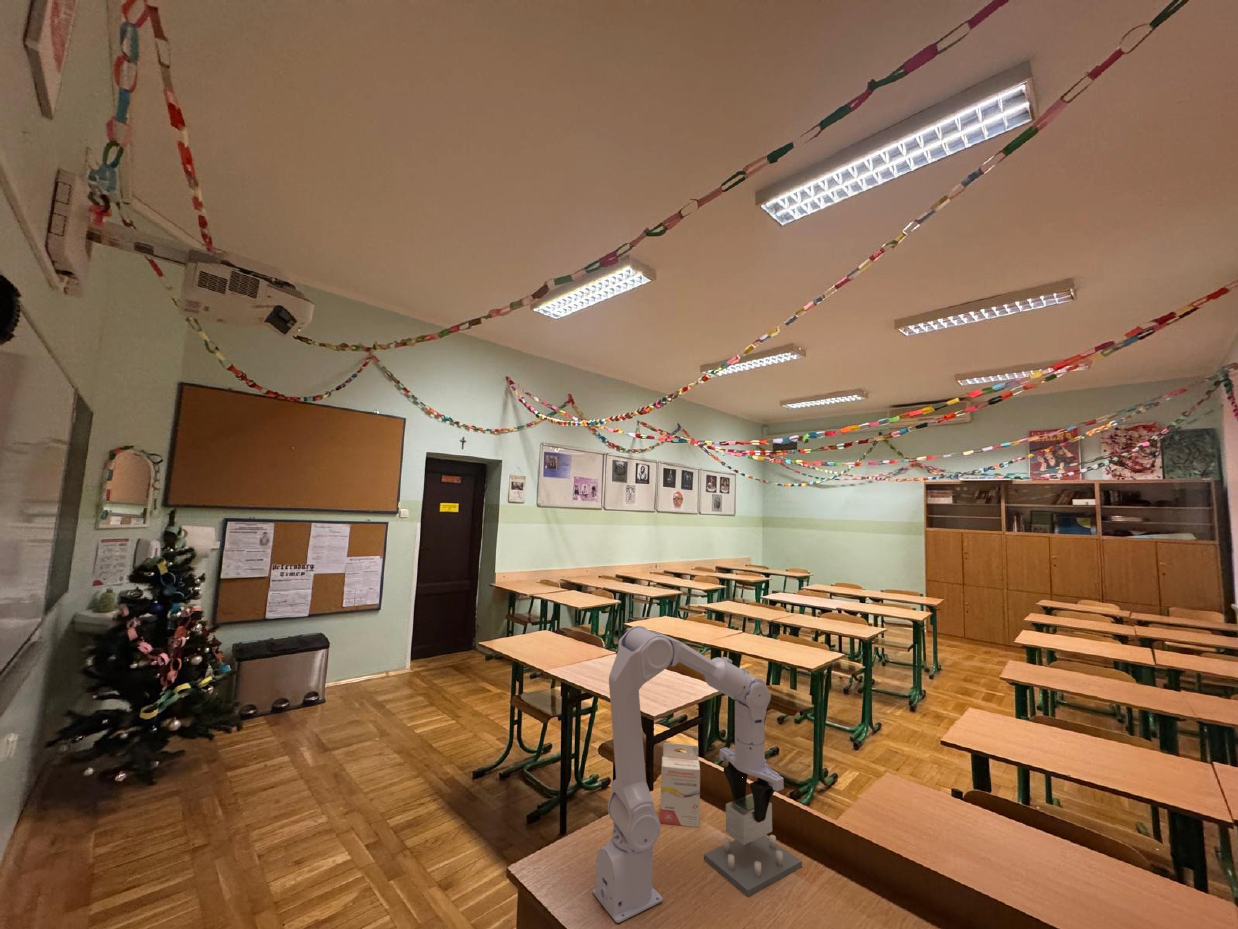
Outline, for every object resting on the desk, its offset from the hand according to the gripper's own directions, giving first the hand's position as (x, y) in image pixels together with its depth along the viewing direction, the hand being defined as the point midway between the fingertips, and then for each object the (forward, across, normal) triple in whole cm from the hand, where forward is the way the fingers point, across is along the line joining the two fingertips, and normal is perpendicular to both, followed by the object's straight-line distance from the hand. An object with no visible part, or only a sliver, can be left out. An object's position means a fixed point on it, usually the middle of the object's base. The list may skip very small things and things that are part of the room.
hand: (750, 813), depth 93 cm
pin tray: (+9, 0, 0) cm, 9 cm away
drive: (+3, 0, 0) cm, 3 cm away
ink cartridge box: (+9, +18, +3) cm, 20 cm away
